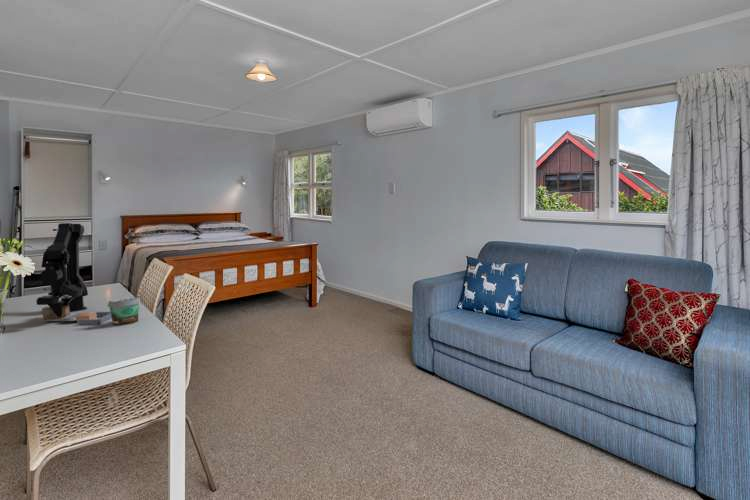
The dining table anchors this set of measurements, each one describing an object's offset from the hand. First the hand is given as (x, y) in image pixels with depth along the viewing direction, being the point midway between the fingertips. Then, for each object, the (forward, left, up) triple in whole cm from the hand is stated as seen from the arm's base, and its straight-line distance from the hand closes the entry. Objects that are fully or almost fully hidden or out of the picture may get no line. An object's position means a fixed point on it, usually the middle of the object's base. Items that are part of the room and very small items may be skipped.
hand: (62, 316), depth 173 cm
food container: (+25, +15, -2) cm, 29 cm away
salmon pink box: (+8, +6, -2) cm, 10 cm away
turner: (0, 0, -1) cm, 1 cm away
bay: (+11, +9, -2) cm, 14 cm away
